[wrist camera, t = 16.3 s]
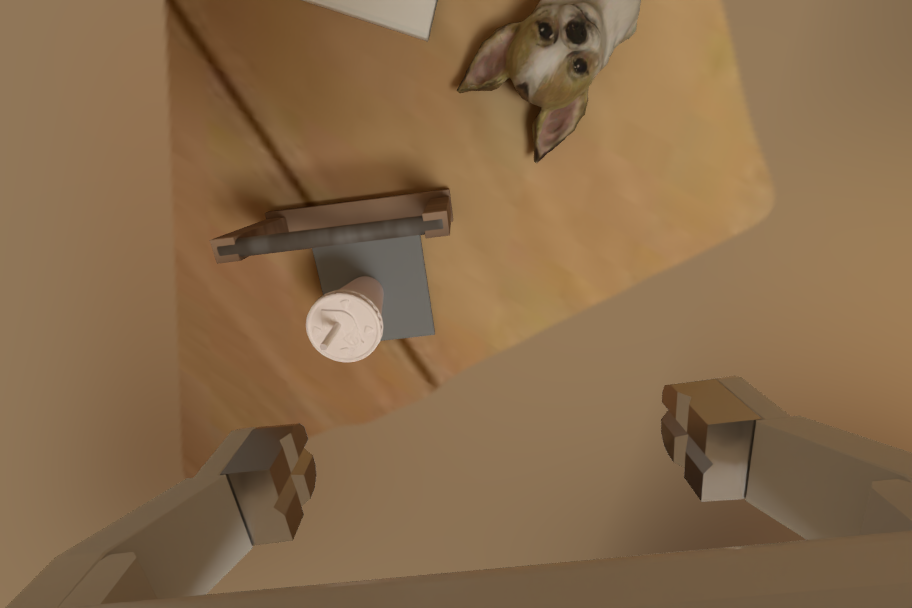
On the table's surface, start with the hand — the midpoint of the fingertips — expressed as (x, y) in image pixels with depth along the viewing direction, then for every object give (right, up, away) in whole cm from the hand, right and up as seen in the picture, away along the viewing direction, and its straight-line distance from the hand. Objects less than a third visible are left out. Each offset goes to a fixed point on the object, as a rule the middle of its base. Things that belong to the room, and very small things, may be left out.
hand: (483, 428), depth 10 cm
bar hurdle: (-10, +12, +33) cm, 37 cm away
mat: (-9, +4, +36) cm, 37 cm away
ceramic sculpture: (+8, +25, +29) cm, 39 cm away
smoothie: (-10, +4, +36) cm, 37 cm away
